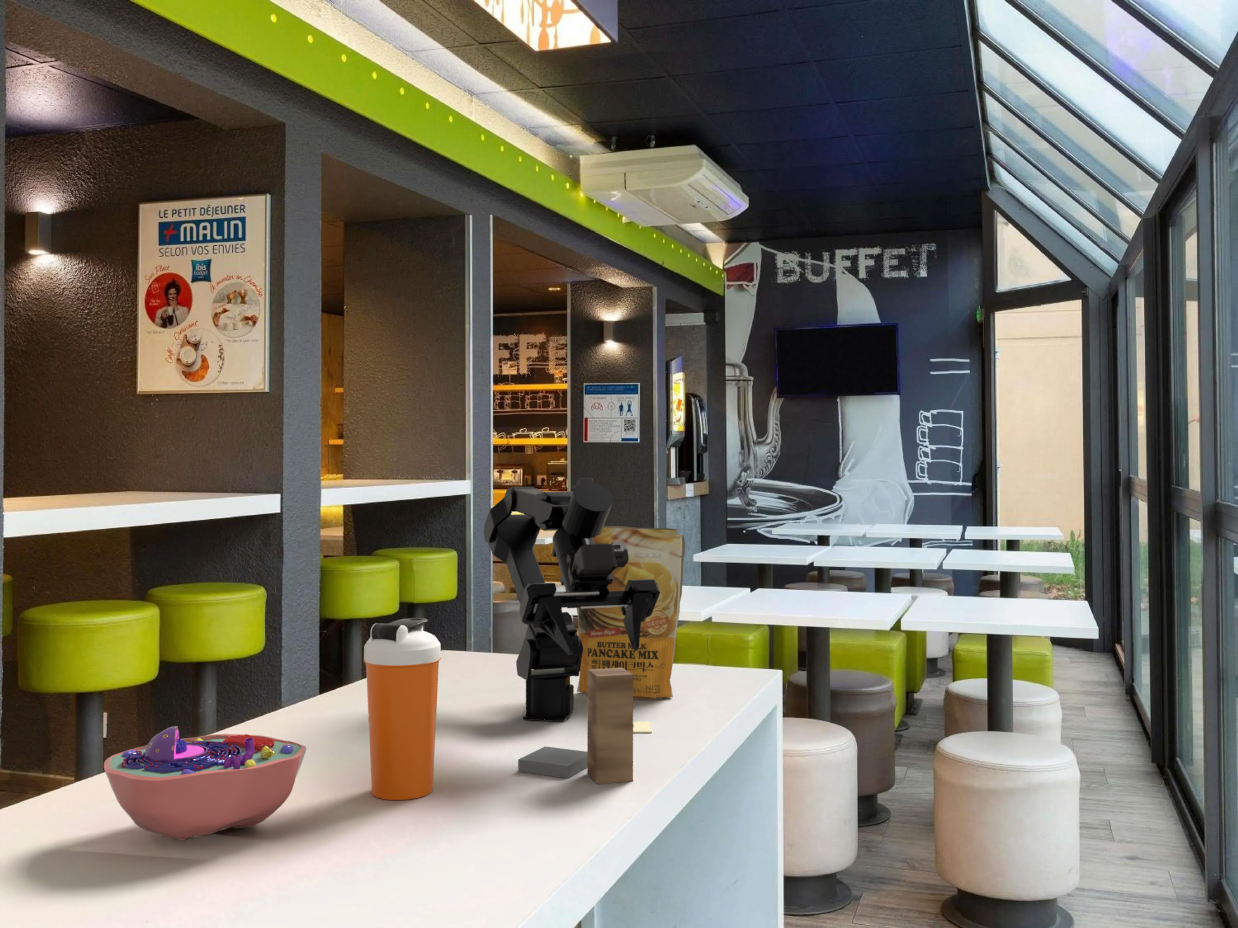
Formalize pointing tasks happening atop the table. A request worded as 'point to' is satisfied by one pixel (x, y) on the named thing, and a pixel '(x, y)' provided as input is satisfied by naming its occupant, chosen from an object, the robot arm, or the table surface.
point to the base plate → (553, 762)
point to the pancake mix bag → (606, 633)
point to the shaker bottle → (402, 707)
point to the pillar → (610, 725)
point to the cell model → (203, 781)
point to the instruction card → (642, 727)
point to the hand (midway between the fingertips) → (604, 650)
